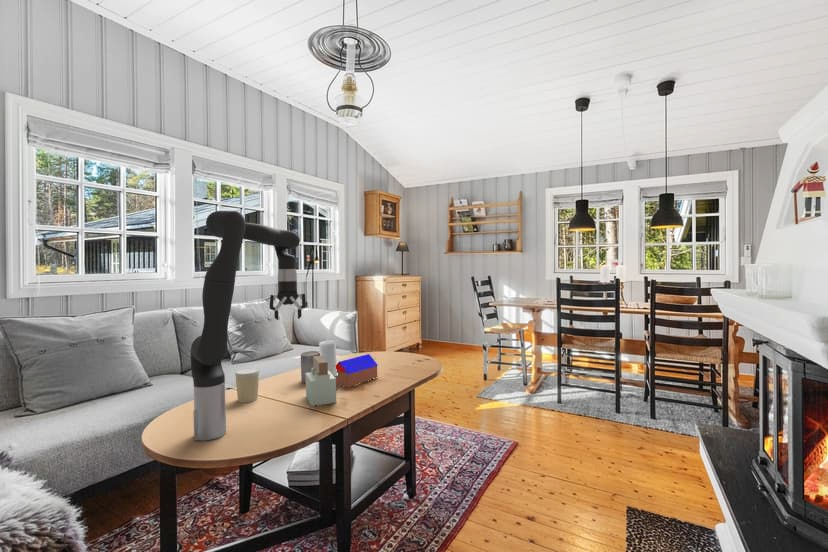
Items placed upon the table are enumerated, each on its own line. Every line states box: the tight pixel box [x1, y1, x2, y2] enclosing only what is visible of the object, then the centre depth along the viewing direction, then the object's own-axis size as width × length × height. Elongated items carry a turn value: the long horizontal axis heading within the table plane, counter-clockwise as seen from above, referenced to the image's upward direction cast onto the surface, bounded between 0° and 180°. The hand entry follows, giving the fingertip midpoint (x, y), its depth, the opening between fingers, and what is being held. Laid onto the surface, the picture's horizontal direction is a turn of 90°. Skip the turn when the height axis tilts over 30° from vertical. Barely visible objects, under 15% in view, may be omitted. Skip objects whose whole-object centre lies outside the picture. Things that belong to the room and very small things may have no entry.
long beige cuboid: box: [313, 355, 329, 376], centre depth 165 cm, size 4×14×5 cm, turn 24°
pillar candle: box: [299, 350, 320, 384], centre depth 193 cm, size 10×10×15 cm
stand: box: [305, 368, 337, 407], centre depth 165 cm, size 10×14×12 cm
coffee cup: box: [234, 368, 260, 403], centre depth 167 cm, size 9×9×12 cm
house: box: [335, 353, 379, 389], centre depth 192 cm, size 12×20×12 cm, turn 142°
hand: (288, 319), depth 163 cm, fingers open, 8 cm apart
